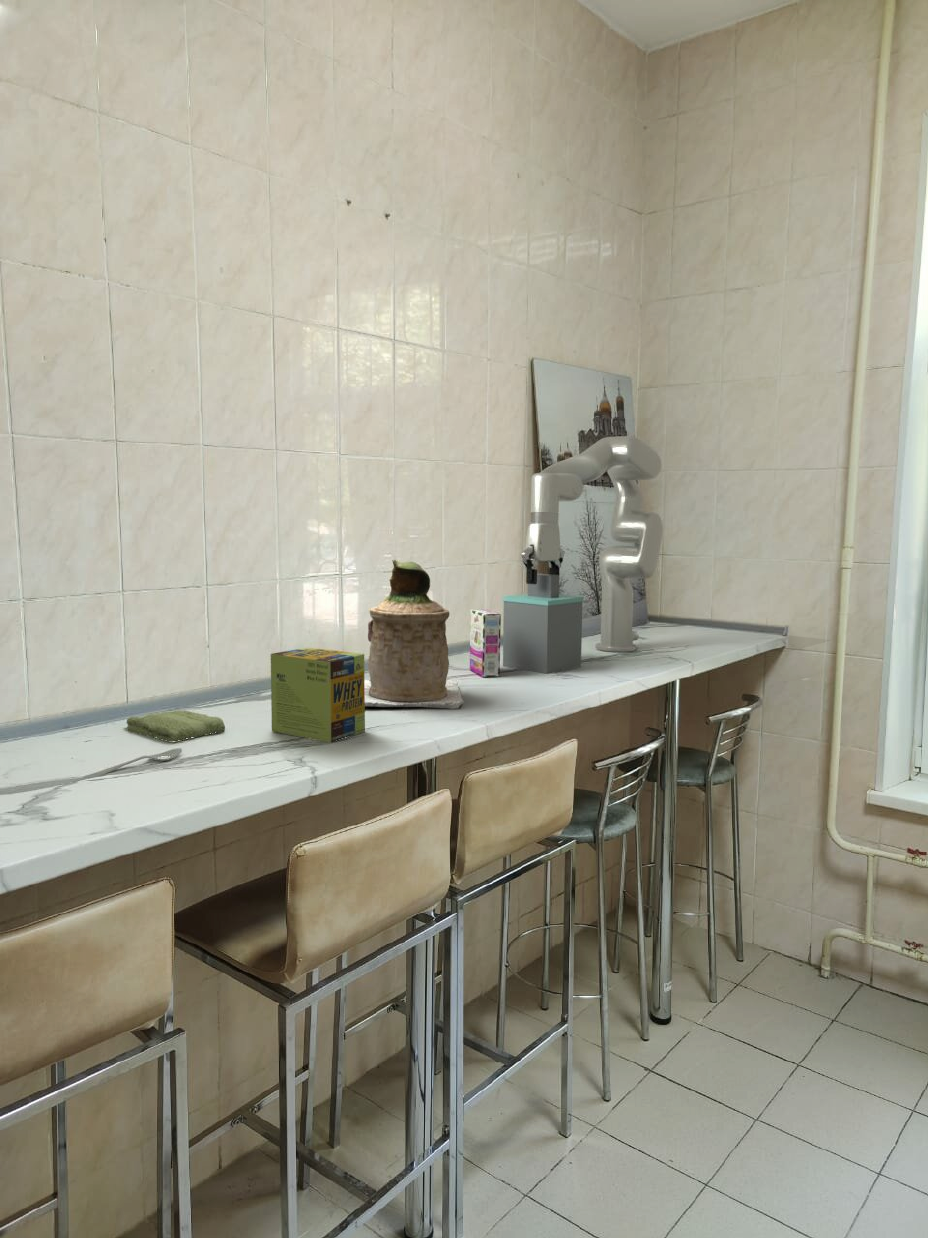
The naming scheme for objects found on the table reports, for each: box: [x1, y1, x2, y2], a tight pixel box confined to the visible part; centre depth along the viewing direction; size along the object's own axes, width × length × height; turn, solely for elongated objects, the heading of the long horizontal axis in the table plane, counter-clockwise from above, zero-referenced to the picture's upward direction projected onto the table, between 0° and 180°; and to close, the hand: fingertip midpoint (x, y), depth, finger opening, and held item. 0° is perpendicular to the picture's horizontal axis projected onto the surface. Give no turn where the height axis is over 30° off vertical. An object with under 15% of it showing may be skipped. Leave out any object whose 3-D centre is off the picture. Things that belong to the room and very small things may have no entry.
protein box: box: [270, 647, 366, 743], centre depth 173 cm, size 10×15×16 cm
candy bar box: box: [469, 609, 502, 678], centre depth 232 cm, size 11×5×16 cm, turn 18°
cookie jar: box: [364, 558, 464, 710], centre depth 202 cm, size 25×25×32 cm
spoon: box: [82, 747, 183, 779], centre depth 150 cm, size 4×21×2 cm, turn 140°
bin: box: [502, 601, 583, 674], centre depth 243 cm, size 15×15×18 cm
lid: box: [502, 572, 585, 606], centre depth 242 cm, size 16×16×7 cm
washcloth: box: [126, 709, 226, 742], centre depth 174 cm, size 13×18×3 cm
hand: (542, 583), depth 241 cm, fingers open, 9 cm apart
